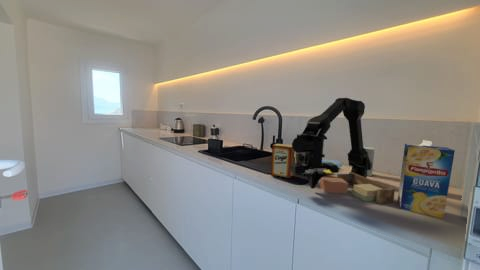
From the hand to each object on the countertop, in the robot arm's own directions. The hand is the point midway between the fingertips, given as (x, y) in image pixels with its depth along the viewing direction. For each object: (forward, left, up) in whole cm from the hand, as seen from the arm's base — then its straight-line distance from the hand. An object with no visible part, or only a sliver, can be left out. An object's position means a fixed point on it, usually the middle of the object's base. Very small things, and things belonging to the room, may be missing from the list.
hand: (312, 188), depth 79 cm
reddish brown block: (-10, -1, -2) cm, 11 cm away
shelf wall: (-22, +2, -1) cm, 22 cm away
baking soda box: (+4, -21, -2) cm, 21 cm away
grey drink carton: (-9, -26, -2) cm, 28 cm away
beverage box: (-30, +18, -2) cm, 35 cm away
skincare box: (-43, -20, -2) cm, 47 cm away
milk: (-51, +3, -2) cm, 51 cm away
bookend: (-20, -8, -2) cm, 22 cm away
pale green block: (-19, +7, -2) cm, 21 cm away
